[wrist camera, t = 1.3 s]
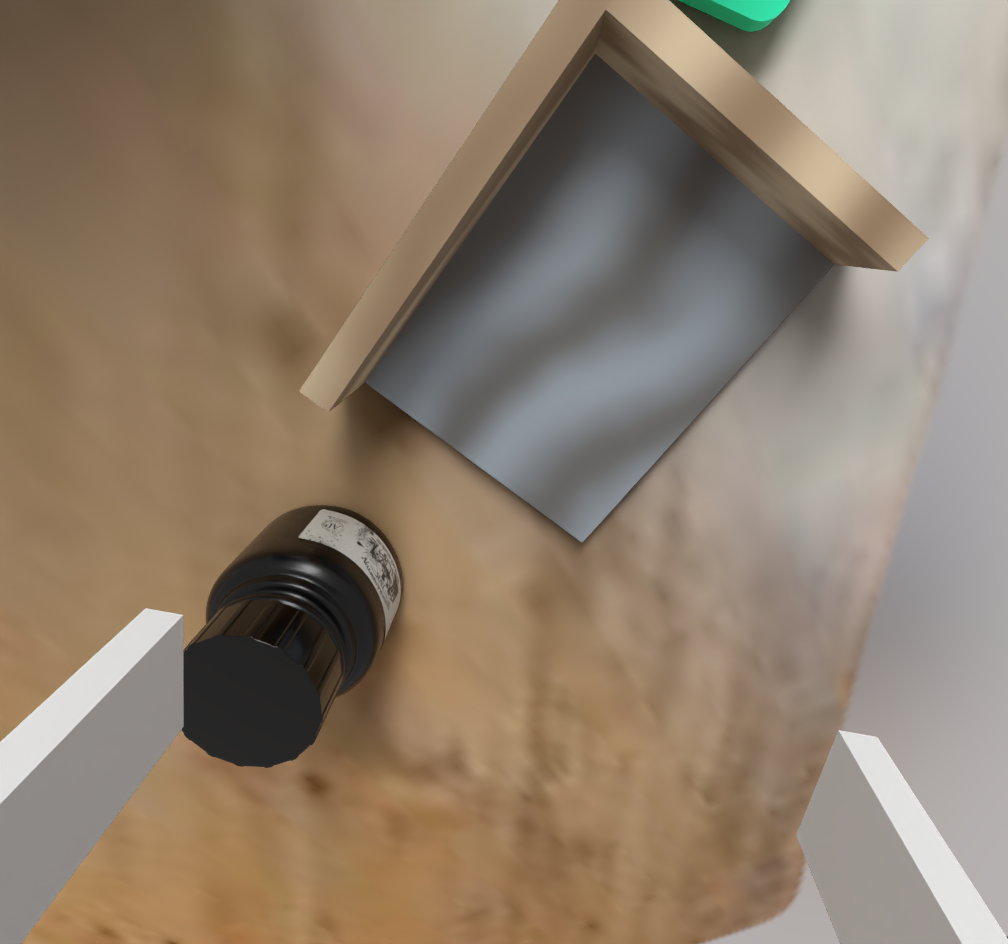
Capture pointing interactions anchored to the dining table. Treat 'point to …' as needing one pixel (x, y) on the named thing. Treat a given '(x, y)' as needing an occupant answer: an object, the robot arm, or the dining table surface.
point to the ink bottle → (288, 634)
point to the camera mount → (741, 11)
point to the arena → (604, 257)
